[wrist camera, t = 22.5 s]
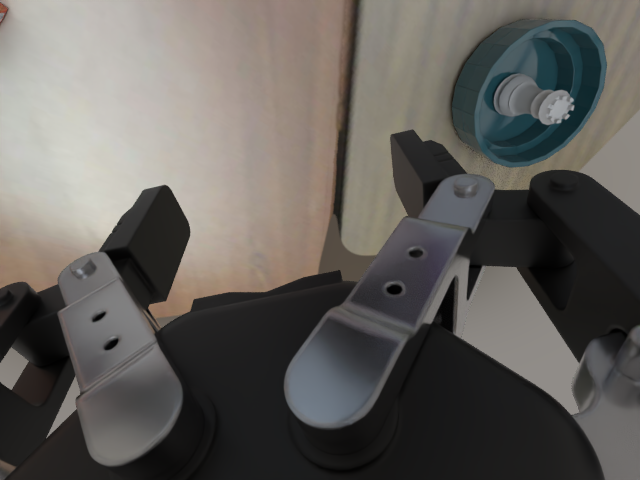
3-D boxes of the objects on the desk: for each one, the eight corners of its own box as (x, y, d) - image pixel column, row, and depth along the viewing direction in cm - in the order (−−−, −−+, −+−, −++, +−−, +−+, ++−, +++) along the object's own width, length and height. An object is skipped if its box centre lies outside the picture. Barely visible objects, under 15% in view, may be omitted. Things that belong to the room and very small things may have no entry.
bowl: (463, 19, 36) (495, 20, 31) (584, 18, 38) (631, 19, 34) (438, 155, 44) (461, 171, 39) (541, 147, 46) (574, 162, 41)
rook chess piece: (533, 95, 41) (589, 110, 34) (500, 122, 42) (548, 142, 35) (519, 63, 39) (576, 73, 32) (484, 93, 40) (533, 109, 33)
